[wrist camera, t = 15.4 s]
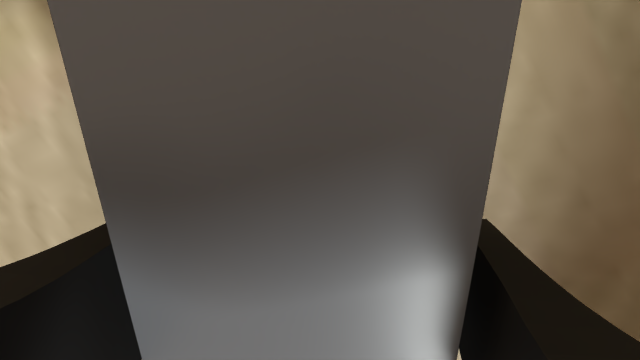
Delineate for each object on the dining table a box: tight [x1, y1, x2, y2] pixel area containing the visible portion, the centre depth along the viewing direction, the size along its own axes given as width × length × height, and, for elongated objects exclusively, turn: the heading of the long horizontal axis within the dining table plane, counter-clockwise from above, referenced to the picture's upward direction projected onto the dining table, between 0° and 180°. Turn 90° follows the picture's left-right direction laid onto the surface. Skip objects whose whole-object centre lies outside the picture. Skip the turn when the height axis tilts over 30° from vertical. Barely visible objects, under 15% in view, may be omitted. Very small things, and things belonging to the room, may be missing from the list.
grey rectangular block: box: [47, 0, 522, 360], centre depth 11 cm, size 6×12×6 cm, turn 0°
